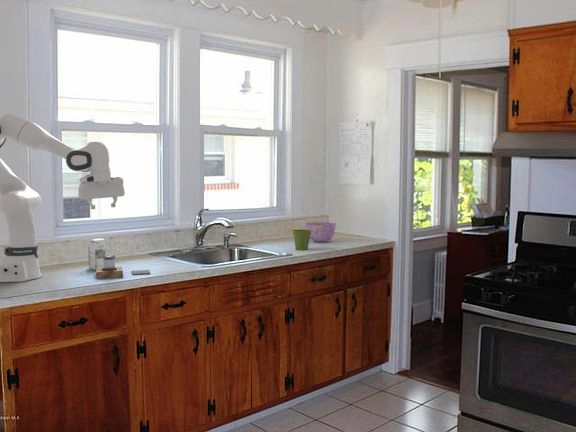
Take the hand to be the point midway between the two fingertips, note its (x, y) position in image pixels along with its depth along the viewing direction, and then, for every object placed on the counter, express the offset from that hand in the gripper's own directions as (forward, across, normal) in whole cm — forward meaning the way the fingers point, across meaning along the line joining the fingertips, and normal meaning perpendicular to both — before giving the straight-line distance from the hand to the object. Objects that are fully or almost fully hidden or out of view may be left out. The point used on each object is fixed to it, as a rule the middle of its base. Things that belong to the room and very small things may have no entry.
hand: (103, 208), depth 264 cm
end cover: (+31, +1, +2) cm, 31 cm away
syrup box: (+30, -2, -19) cm, 36 cm away
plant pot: (+36, -119, -6) cm, 125 cm away
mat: (+31, -13, +4) cm, 34 cm away
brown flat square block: (+31, +1, +2) cm, 31 cm away
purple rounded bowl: (+36, -150, -24) cm, 157 cm away
